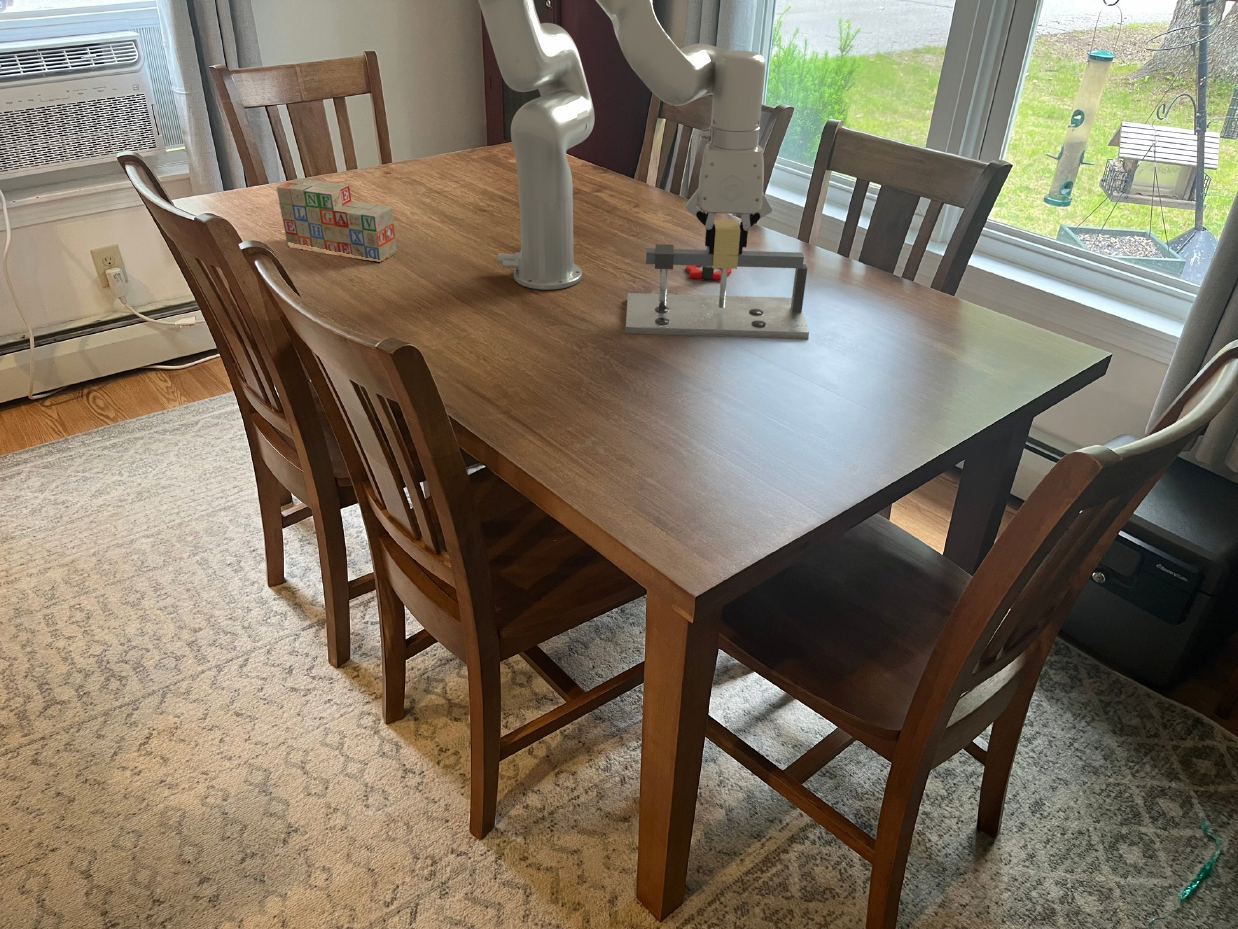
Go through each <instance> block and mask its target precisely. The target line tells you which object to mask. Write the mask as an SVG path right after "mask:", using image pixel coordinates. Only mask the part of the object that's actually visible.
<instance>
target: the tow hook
mask: <svg viewBox="0 0 1238 929" xmlns="http://www.w3.org/2000/svg"><path fill="white" fill-rule="evenodd" d="M705 250H709V246H706V249H705ZM698 267H700V266H695V265H686V271H687V272H688V273H689V279H691V280H692V279H693V280H701V281H708V280H713V281H716V282H717V281H718V282H721V270H722V268H720V269H721V270H719V271H715V268H713V266H701V267H702V269H698ZM731 274H732V269H728V271H727V277H728V276H730V275H731Z"/></svg>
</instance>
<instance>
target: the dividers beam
mask: <svg viewBox="0 0 1238 929" xmlns="http://www.w3.org/2000/svg"><path fill="white" fill-rule="evenodd" d="M804 259H805V256H804V253H803V252H796V251H795V252H789V251H763V250H762V251H757V250H756V251H755V250H754V251H753V250H742V254H739V253H738V263H737V268H740V267H741V268H772V269H776V268H777V269H795V270H794V278H793V288H792V295H791V298H792V302H791V309H792V312H802V311H803V306H804V305H803V304H804V297H805V291H806V290H805V289H806V284H807V283H806V282H807V275H808V274H807V273H808V266H807V264H805V263H804ZM645 264H646V265H654V269H655V270H659V271H660V272H659V273H660V274H659V293H658V294H659V310H661V311H663V310H666V294H668V293H667V291H668V290H667V288H668V270H674V266H687V265H695V266H699V267H703V266H713V253H709V250H706V249H691V248H690V249H687V248H686V249H682V248H679V249H678V248H674V244H659V243H657V244H655V248H654V247H653V248H652V247H651V248H649V247H648V248H646V254H645Z"/></svg>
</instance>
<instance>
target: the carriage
mask: <svg viewBox="0 0 1238 929" xmlns="http://www.w3.org/2000/svg"><path fill="white" fill-rule="evenodd" d="M714 226H715V240H714V252H713V268H714V269H721V268H722V269H721V270H720V271H721V281H720V285H719V295H718V296H719V307H720V308H724V307H725V296H727V295H726V292H727V282H728V281H727V280H728V276H727V271H728V269H733V270H737V269H738V267H737V263H738V252H739V241H740V222H739V220H724V219H723V220H717V219H715V220H714Z"/></svg>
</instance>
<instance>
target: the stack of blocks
mask: <svg viewBox="0 0 1238 929" xmlns="http://www.w3.org/2000/svg"><path fill="white" fill-rule="evenodd" d="M276 192H277V197H278V202H279V209H280V214H281V218H282V222H283V228H284V233H285V239H286V243H287V242H291V243H294V244H300V245H307V246H311V247H317V248H320V249H326V250H329V251H335V252H343V253H346V254H352V255H354V256H361V257H365V258H373V259H378V260H380V259H383V258H384V257H386V256H388V255H389V254H391V253H392V252H394V251H396V250H397V249H398V248H397V242H396V232H395V225H394V222H395V220H394V212H393V207H392V206H389V205H382V204H381V205H380V204H375V203H368V202H361V201H357V200H354V201H352V196H351V190H350V185H348V184H342V183H341V184H340V183H333V182H327V181H318V180H310V179H306V178H305V179H303V178H294V179H292V180H289V181H287V182H285V183H283V184H280V185H278V186H277V187H276ZM397 251H398V250H397Z"/></svg>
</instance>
